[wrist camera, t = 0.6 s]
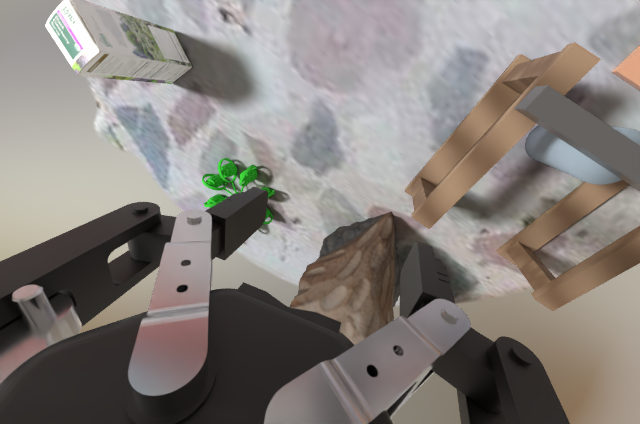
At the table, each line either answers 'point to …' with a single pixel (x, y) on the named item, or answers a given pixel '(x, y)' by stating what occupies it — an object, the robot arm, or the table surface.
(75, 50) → the syrup box
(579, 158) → the grey-blue cylinder
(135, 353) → the robot arm
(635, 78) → the terracotta tile
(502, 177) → the table surface
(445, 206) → the gantry
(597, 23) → the table surface
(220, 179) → the chandelier
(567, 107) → the bar
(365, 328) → the brown pointed rock
